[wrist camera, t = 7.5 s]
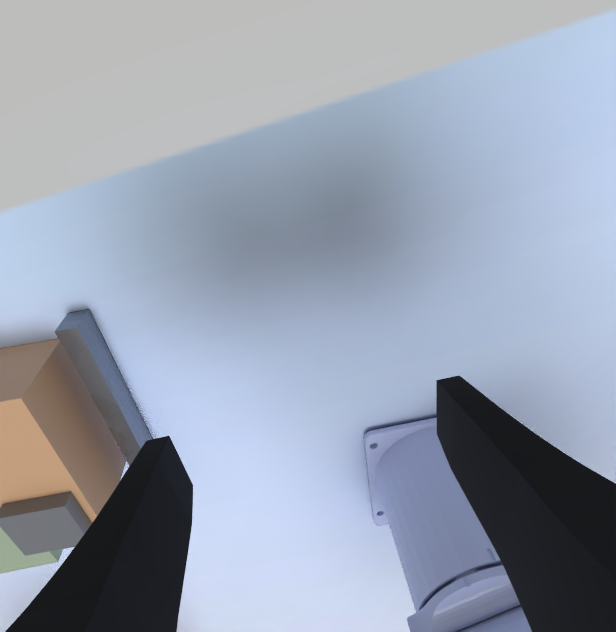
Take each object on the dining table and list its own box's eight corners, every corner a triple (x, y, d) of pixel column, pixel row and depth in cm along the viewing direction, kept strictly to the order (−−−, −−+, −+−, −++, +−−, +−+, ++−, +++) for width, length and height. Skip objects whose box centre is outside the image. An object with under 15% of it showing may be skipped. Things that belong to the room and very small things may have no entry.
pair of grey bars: (174, 483, 27) (170, 506, 26) (56, 507, 27) (45, 531, 25) (89, 309, 20) (77, 327, 19) (-71, 339, 20) (-95, 359, 19)
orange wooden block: (126, 459, 26) (100, 544, 21) (59, 471, 25) (18, 559, 21) (62, 336, 21) (11, 412, 16) (-20, 350, 21) (-95, 430, 16)
